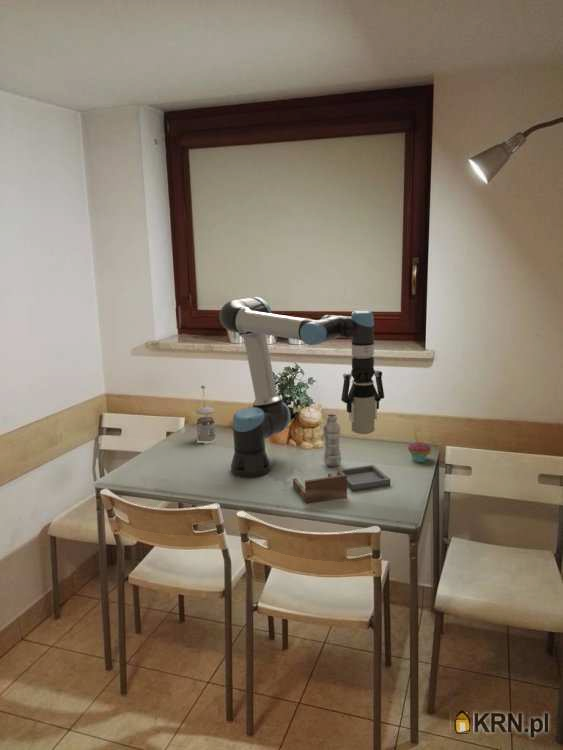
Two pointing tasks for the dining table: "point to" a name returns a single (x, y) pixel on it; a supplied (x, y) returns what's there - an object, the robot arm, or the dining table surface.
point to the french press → (205, 423)
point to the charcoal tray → (364, 478)
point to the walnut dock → (322, 488)
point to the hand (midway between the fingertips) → (362, 419)
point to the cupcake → (419, 450)
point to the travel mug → (363, 408)
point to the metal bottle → (332, 441)
